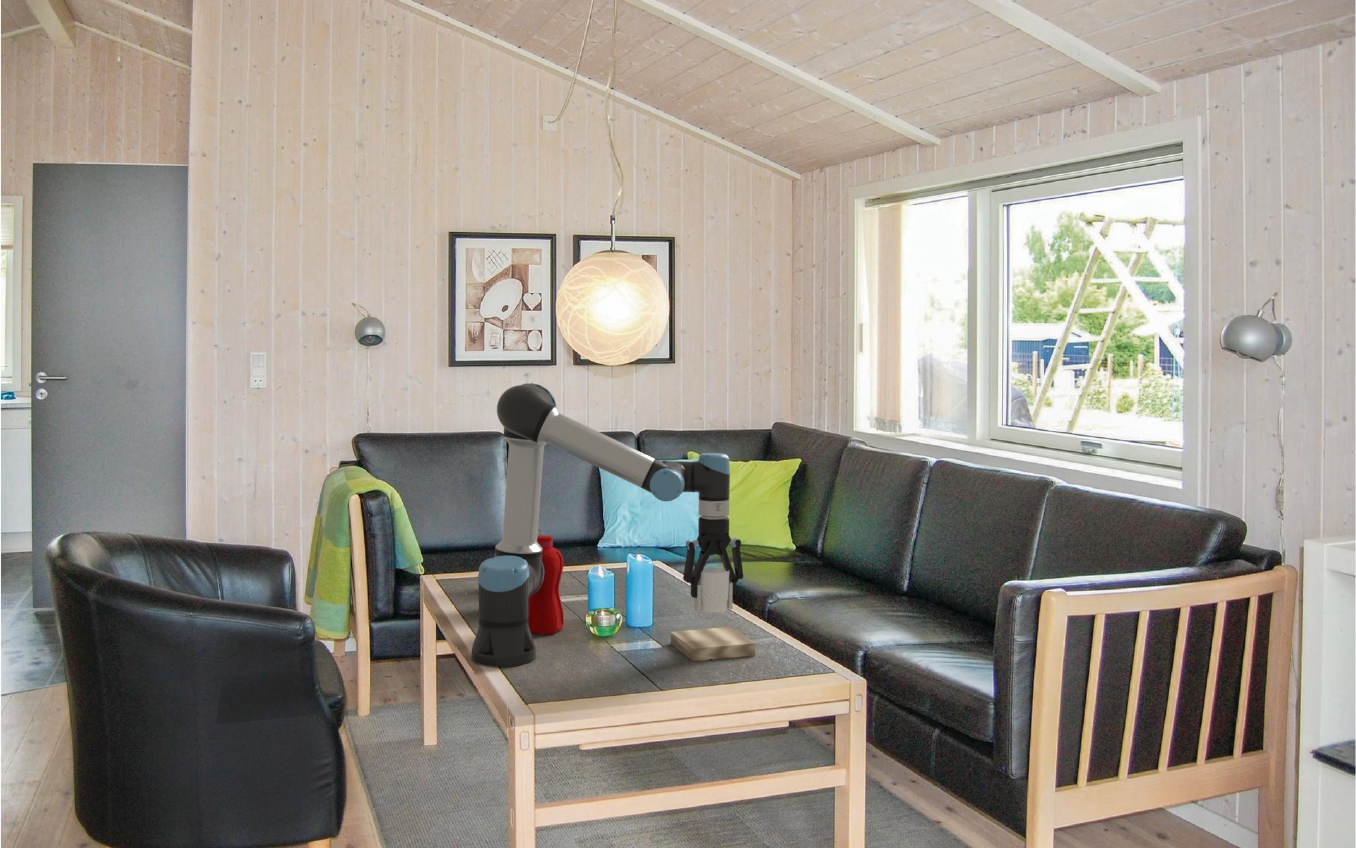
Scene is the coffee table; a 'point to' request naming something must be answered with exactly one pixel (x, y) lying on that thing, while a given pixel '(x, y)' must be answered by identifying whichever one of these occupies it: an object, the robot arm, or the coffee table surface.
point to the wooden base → (712, 643)
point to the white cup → (714, 589)
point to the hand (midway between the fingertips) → (713, 609)
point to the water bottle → (547, 592)
